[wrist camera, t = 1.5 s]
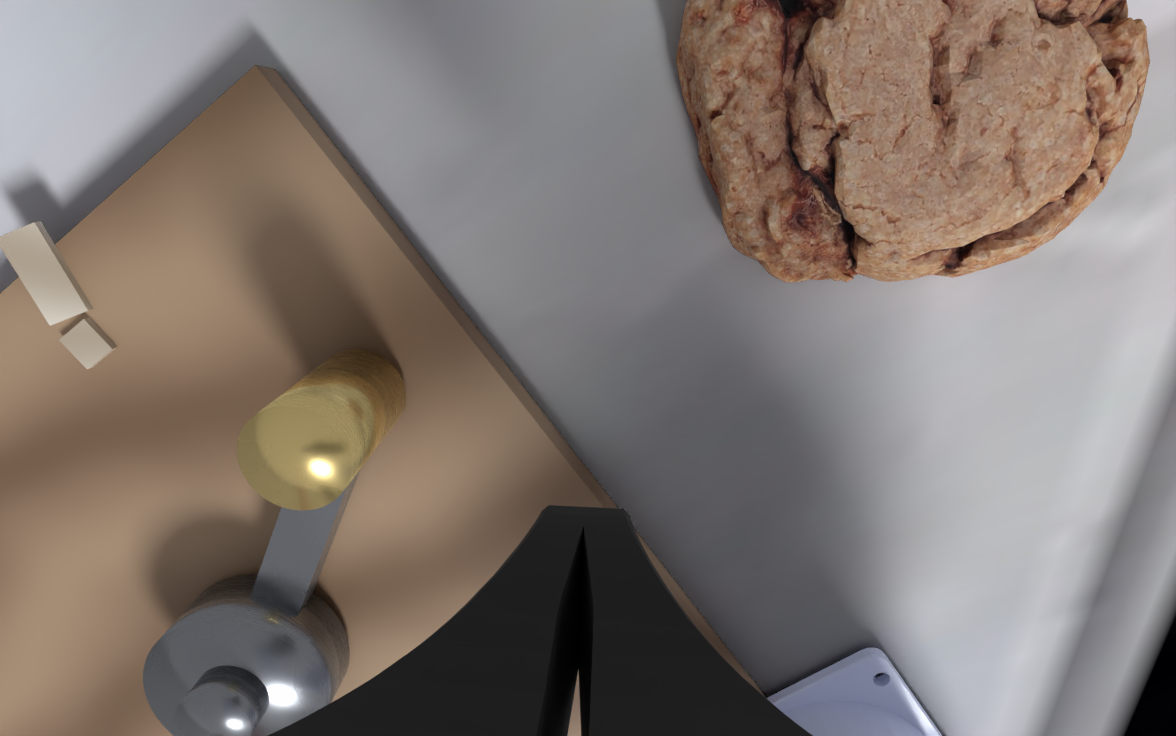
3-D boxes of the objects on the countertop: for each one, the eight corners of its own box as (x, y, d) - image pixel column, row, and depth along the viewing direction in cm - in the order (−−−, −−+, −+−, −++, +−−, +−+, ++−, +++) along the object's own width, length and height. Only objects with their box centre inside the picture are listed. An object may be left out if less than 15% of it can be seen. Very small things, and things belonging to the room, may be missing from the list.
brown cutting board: (778, 713, 23) (787, 743, 21) (294, 954, 27) (280, 990, 26) (249, 35, 17) (222, 28, 16) (-253, 492, 21) (-302, 512, 20)
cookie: (1028, 312, 18) (1104, 343, 16) (638, 252, 18) (642, 272, 15) (1184, -118, 15) (1315, -178, 12) (714, -194, 15) (737, -271, 12)
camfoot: (321, 730, 22) (259, 855, 18) (169, 674, 21) (72, 790, 18) (465, 392, 18) (425, 459, 14) (283, 313, 18) (191, 361, 14)
